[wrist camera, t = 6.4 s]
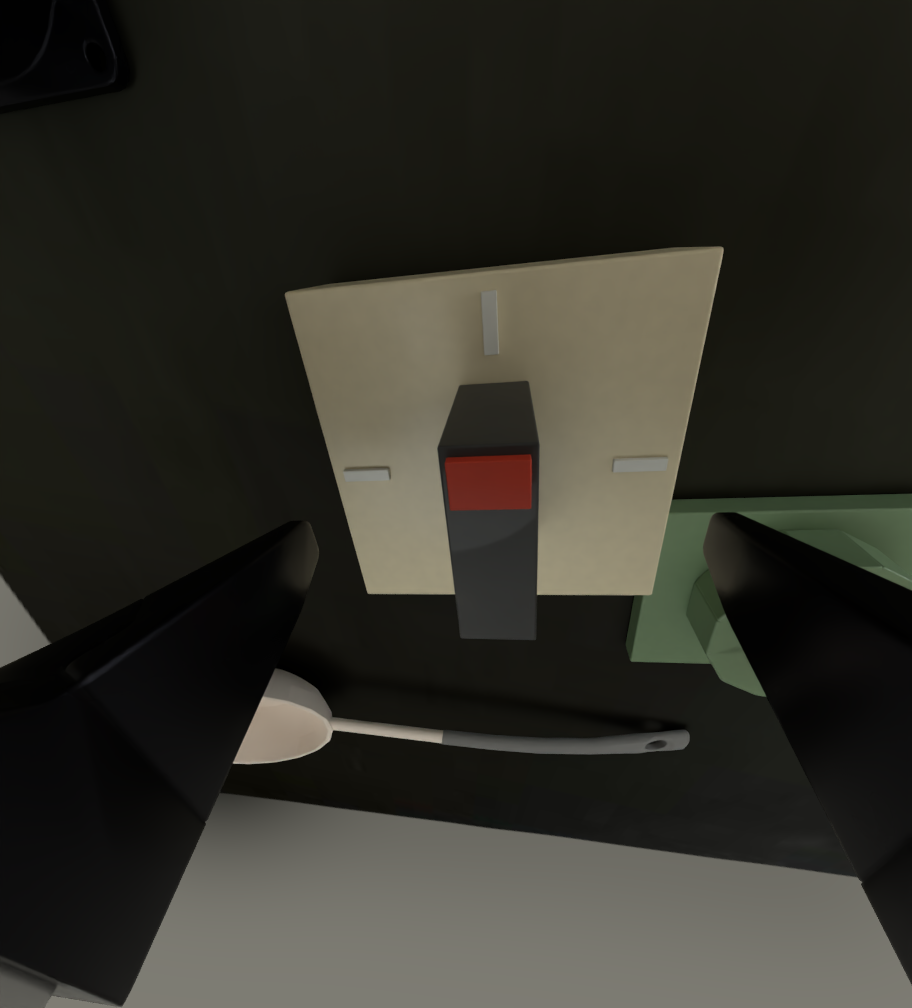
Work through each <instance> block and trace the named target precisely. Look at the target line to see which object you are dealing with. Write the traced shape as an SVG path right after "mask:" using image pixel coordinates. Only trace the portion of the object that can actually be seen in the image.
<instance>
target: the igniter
mask: <svg viewBox="0 0 912 1008" xmlns="http://www.w3.org/2000/svg"><path fill="white" fill-rule="evenodd" d="M718 512H736V513H739V514H741V515H744V516H746V517H748V518H750V519H753V520H755V521H757V522H759V523H762V524H764V525H766V526H768V527H771V528H773V529H775V530H777V531H780V532H782V533H784V534H786V535H789V536H791V537H793V538H795V539H798V540H800V541H802V542H804V543H807V544H809V545H811V546H813V547H816V548H818V549H820V550H822V551H825V552H827V553H829V554H831V555H834V556H836V557H838V558H840V559H843V560H845V561H847V562H849V563H851V564H854V565H856V566H858V567H860V568H863V569H865V570H867V571H869V572H872V573H874V574H876V575H878V576H881V577H883V578H885V579H887V580H890V581H892V582H894V583H896V584H899V585H901V586H903V587H905V588H908V589H910V590H912V494H879V495H839V496H800V497H760V498H721V499H681V500H671V505H670V510H669V515H668V520H667V524H666V529H665V534H664V539H663V544H662V548H661V553H660V558H659V563H658V567H657V572H656V577H655V582H654V587H653V591H652V594H651V595H634V601H633V606H632V612H631V617H630V623H629V629H628V634H627V640H626V648H627V651H628V654H629V658H630V660H631V661H632V662H667V663H705V664H712V666H713V668H714V669H715V671H716V673H717V675H718V676H719V678H720V679H721V680H722V681H723V682H726V683H728V684H731V685H733V686H735V687H738V688H740V689H742V690H745V691H747V692H750V693H752V694H754V695H757V696H758V695H759V696H766V695H765V693H764V691H763V689H762V687H761V685H760V683H759V681H758V679H757V677H756V675H755V673H754V671H753V669H752V667H751V665H750V663H749V661H748V659H747V657H746V655H745V653H744V651H743V649H742V647H741V645H740V643H739V641H738V639H737V637H736V635H735V633H734V631H733V630H732V628H731V625H730V623H729V621H728V619H727V617H726V615H725V612H724V610H723V607H722V604H721V602H720V599H719V596H718V593H717V591H716V588H715V585H714V582H713V579H712V577H711V574H710V571H709V568H708V566H707V563H706V560H705V557H704V554H703V543H704V539H705V536H706V532H707V528H708V525H709V521H710V518H711V516H712V515H713V514H715V513H718Z"/></svg>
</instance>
